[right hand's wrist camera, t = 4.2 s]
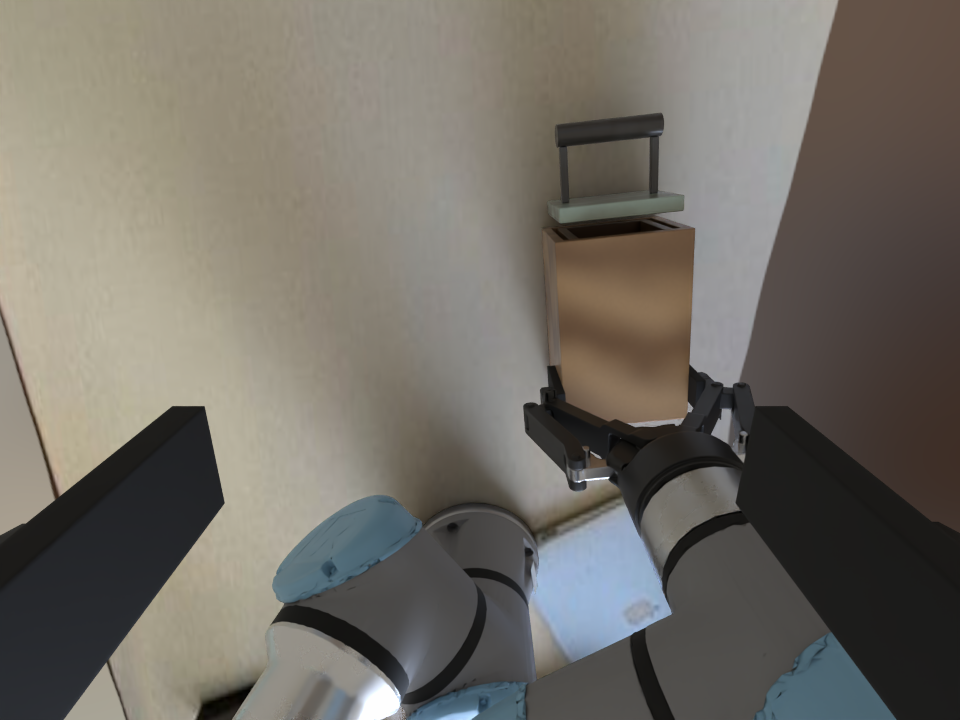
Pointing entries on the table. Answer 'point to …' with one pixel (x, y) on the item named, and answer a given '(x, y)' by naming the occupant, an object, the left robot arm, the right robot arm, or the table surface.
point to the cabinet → (622, 320)
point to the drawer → (612, 203)
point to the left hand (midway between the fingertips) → (612, 372)
